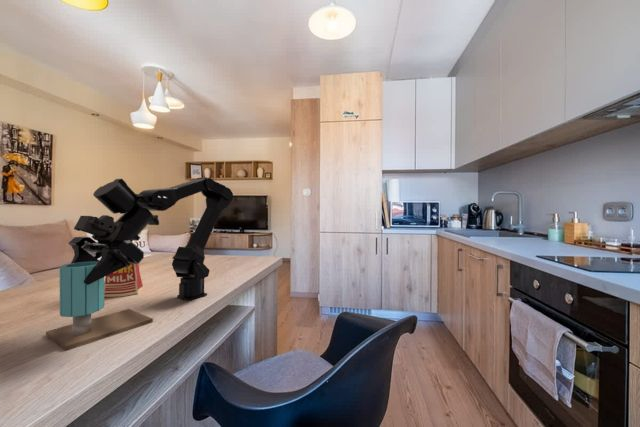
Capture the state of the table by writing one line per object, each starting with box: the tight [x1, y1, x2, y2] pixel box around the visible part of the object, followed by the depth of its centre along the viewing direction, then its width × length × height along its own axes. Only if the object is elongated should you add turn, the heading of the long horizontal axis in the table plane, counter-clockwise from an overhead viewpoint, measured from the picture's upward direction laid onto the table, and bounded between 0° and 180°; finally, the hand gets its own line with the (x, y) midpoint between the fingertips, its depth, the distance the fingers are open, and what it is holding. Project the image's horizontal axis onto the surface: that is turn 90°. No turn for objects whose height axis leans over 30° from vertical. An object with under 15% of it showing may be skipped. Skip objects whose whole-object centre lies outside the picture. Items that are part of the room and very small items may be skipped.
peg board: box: [45, 308, 154, 351], centre depth 62 cm, size 16×12×5 cm
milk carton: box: [104, 240, 144, 298], centre depth 88 cm, size 9×9×20 cm
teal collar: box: [59, 260, 105, 318], centre depth 58 cm, size 7×7×10 cm
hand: (75, 281), depth 57 cm, fingers closed on teal collar, 7 cm apart
